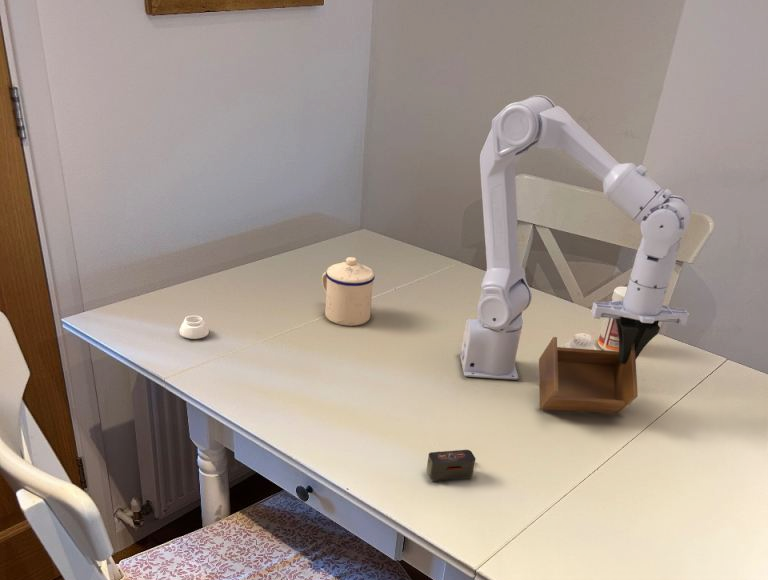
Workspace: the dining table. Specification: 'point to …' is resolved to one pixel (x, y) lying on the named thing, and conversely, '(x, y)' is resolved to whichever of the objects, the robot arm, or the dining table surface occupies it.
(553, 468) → the dining table surface
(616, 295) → the pill bottle
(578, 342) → the white swirled dome
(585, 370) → the wooden crate
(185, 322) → the white jar
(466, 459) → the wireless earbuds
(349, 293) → the teacup with lid
